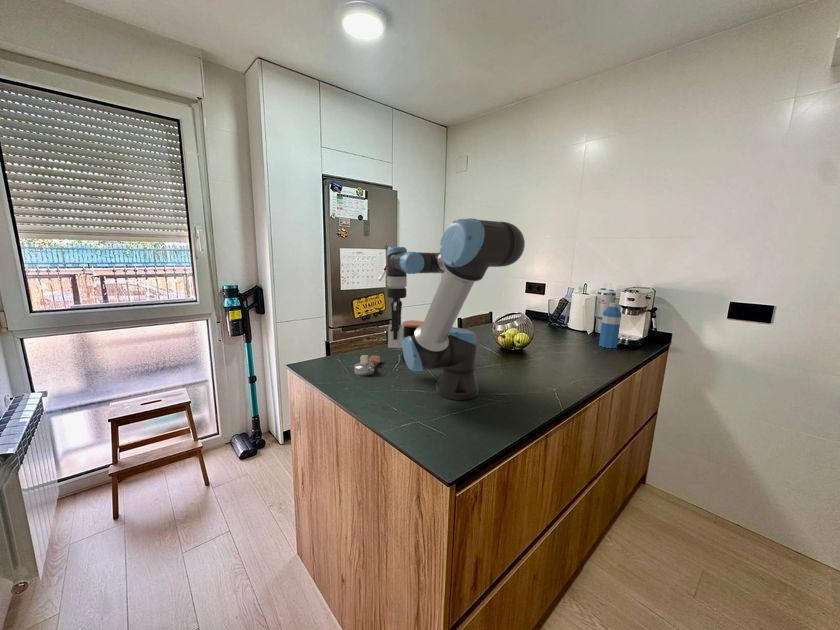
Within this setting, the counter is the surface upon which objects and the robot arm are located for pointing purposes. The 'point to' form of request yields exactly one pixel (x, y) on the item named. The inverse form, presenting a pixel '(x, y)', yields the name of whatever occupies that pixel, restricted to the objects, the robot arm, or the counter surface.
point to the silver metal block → (401, 335)
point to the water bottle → (610, 326)
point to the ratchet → (366, 365)
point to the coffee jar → (410, 330)
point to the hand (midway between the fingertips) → (396, 344)
